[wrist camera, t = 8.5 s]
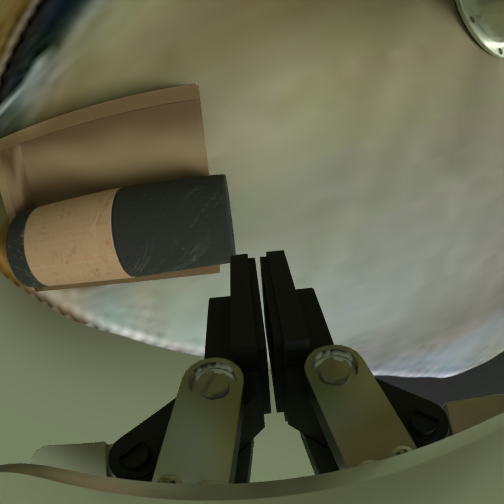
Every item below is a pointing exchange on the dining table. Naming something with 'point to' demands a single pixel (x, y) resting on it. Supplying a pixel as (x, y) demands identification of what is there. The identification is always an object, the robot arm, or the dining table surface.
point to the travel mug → (124, 233)
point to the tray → (106, 155)
